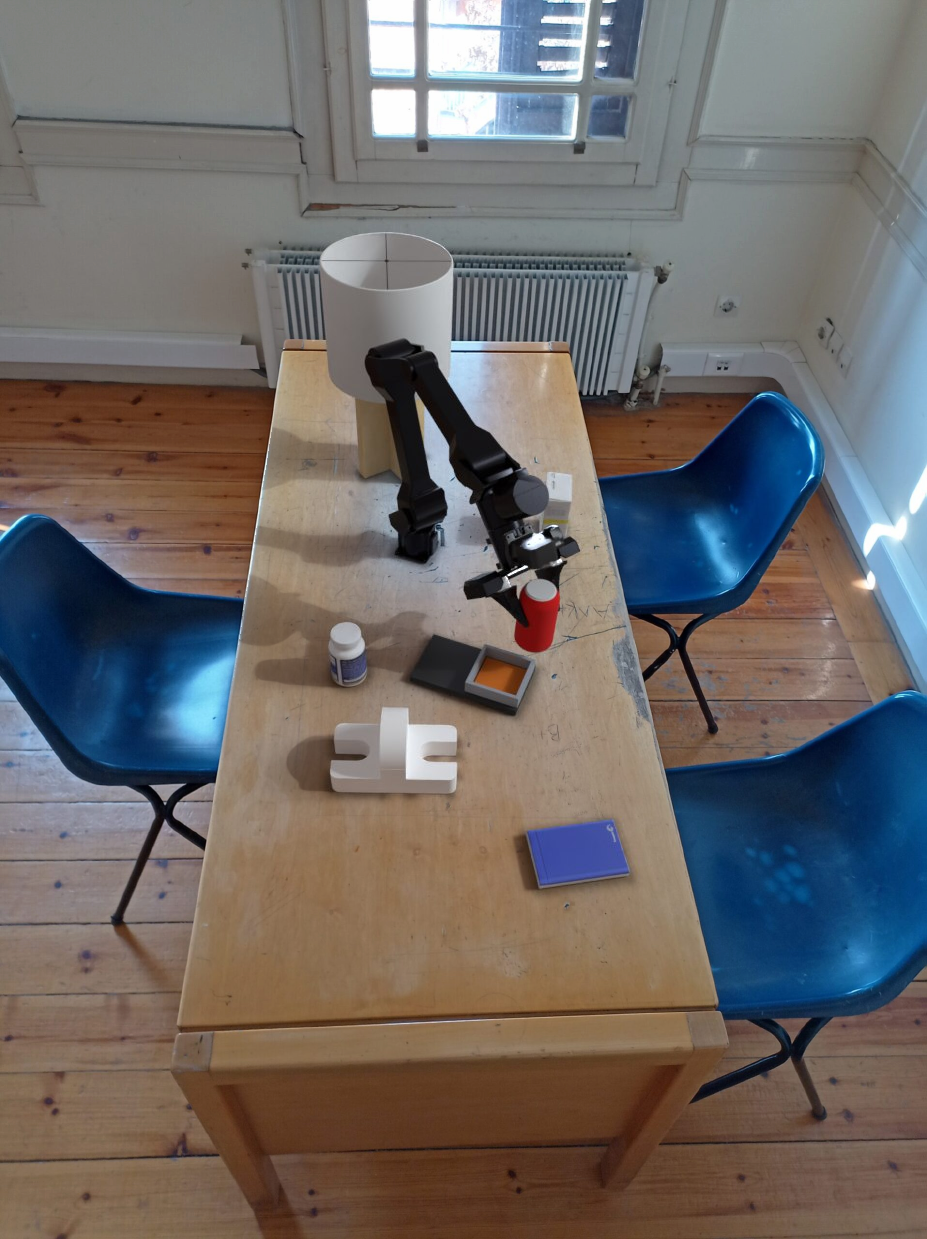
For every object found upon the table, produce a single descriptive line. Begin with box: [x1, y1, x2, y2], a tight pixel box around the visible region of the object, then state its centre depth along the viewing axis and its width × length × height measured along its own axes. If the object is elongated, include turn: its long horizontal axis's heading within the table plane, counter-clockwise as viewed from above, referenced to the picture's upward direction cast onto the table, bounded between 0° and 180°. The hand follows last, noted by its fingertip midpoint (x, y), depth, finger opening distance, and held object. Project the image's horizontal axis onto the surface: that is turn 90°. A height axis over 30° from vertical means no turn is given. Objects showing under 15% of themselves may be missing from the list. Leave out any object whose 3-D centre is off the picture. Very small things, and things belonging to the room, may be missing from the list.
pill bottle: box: [328, 621, 368, 688], centre depth 135 cm, size 6×6×10 cm
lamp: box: [318, 231, 454, 481], centre depth 162 cm, size 23×23×43 cm
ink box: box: [538, 471, 573, 537], centre depth 160 cm, size 9×5×12 cm, turn 175°
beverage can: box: [513, 578, 561, 654], centre depth 133 cm, size 6×6×12 cm
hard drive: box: [525, 818, 631, 890], centre depth 117 cm, size 2×8×12 cm
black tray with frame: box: [409, 633, 536, 716], centre depth 138 cm, size 18×10×3 cm, turn 69°
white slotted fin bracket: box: [329, 706, 458, 795], centre depth 123 cm, size 10×18×11 cm, turn 90°
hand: (542, 619), depth 132 cm, fingers closed on beverage can, 6 cm apart
